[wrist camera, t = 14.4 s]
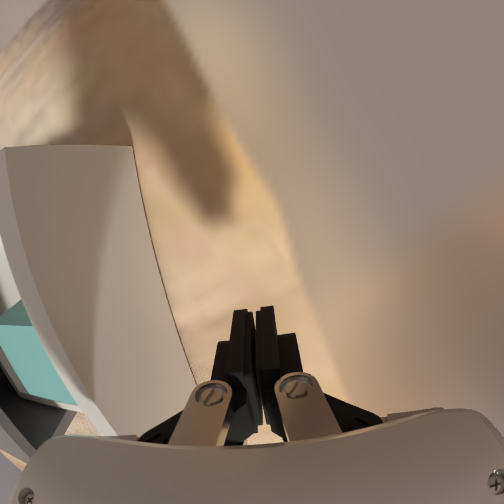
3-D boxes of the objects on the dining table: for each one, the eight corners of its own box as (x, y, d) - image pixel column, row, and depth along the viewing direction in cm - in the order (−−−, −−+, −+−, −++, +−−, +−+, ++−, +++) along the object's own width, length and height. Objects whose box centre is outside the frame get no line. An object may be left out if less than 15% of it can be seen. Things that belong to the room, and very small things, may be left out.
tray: (204, 404, 19) (184, 508, 11) (43, 389, 20) (2, 448, 12) (132, 146, 14) (4, 147, 5) (-29, 214, 15) (-104, 247, 6)
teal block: (117, 352, 16) (85, 406, 11) (63, 350, 16) (29, 393, 11) (89, 281, 14) (40, 326, 10) (36, 287, 15) (-10, 324, 10)
